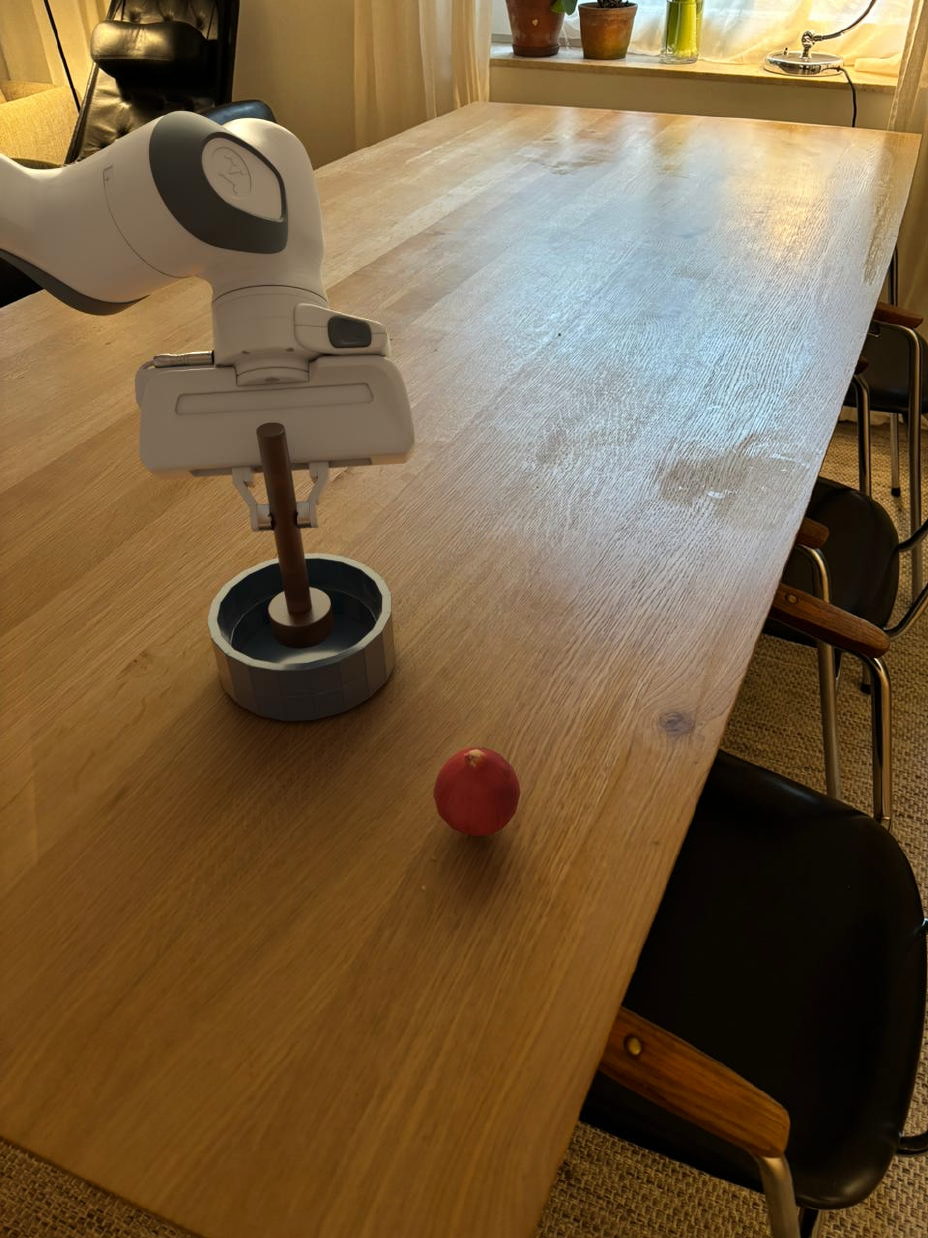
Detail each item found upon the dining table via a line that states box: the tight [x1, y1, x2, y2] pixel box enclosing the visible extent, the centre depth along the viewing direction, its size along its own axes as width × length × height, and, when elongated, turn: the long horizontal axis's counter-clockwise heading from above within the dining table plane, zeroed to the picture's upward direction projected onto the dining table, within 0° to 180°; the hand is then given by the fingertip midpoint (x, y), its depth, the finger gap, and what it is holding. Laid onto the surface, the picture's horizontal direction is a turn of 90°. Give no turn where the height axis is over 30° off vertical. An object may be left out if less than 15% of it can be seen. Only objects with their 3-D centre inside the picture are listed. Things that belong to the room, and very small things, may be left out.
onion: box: [433, 747, 521, 837], centre depth 67 cm, size 6×6×8 cm
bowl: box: [206, 552, 397, 722], centre depth 81 cm, size 15×15×6 cm
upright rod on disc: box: [256, 422, 334, 649], centre depth 75 cm, size 5×5×18 cm
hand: (286, 528), depth 74 cm, fingers closed on upright rod on disc
